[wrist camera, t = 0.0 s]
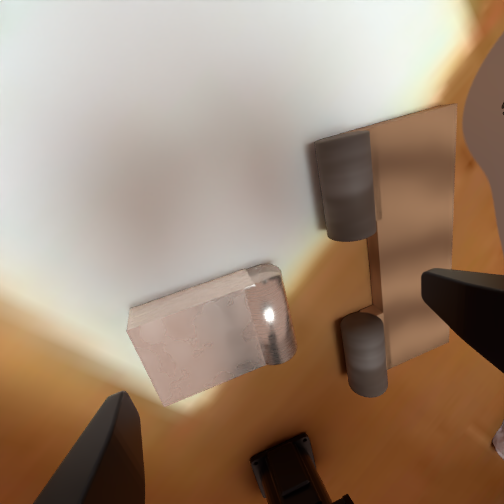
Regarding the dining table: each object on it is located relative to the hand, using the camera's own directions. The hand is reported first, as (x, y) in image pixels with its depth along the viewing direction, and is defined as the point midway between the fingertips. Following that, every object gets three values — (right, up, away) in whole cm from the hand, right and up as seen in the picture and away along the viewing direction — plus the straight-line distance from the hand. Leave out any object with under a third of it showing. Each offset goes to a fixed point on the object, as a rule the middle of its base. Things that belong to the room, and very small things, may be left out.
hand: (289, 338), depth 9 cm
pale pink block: (-4, -3, +16) cm, 17 cm away
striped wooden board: (+12, +2, +19) cm, 23 cm away
